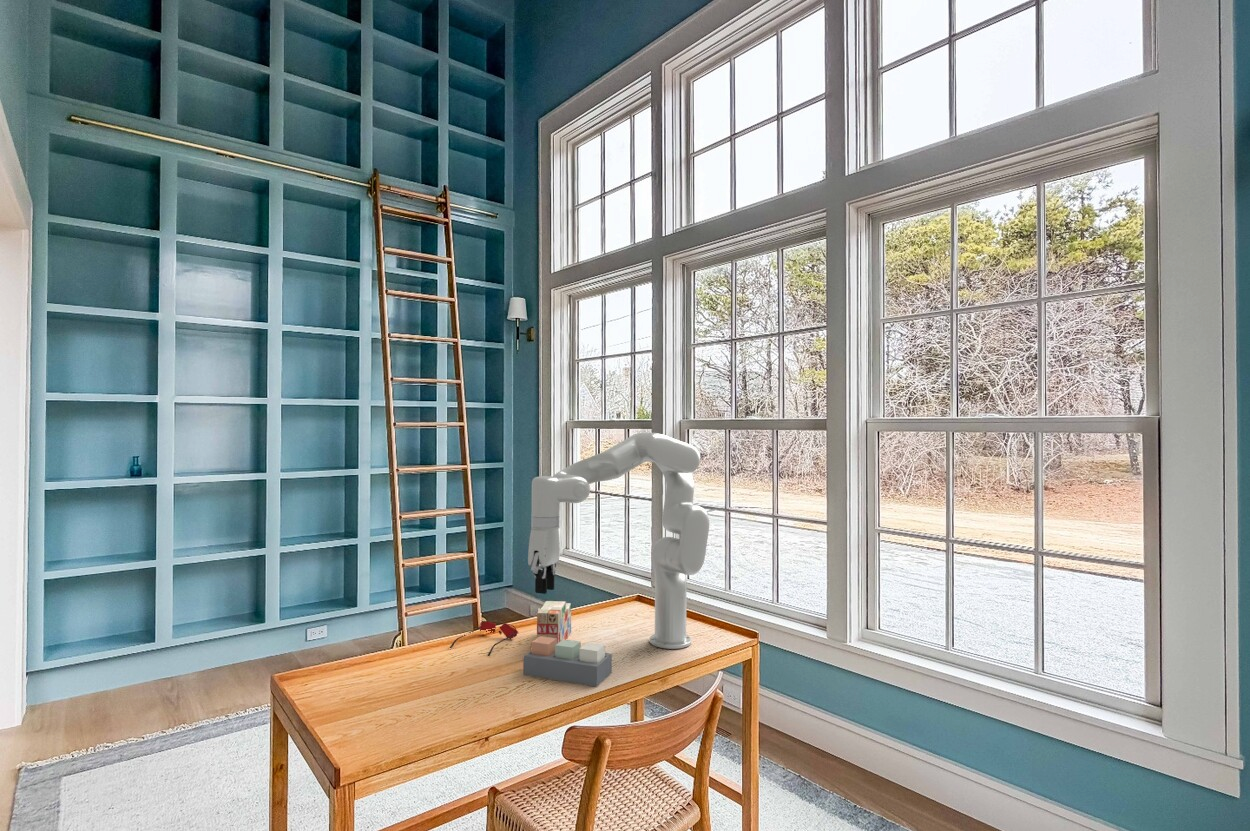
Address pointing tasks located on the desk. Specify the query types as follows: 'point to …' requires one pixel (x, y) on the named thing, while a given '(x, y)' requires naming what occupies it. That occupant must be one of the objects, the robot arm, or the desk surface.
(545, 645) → the terracotta button
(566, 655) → the sage button
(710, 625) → the desk surface
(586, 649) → the cream button
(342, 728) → the desk surface
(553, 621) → the stack of blocks
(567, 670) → the frame
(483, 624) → the glasses
